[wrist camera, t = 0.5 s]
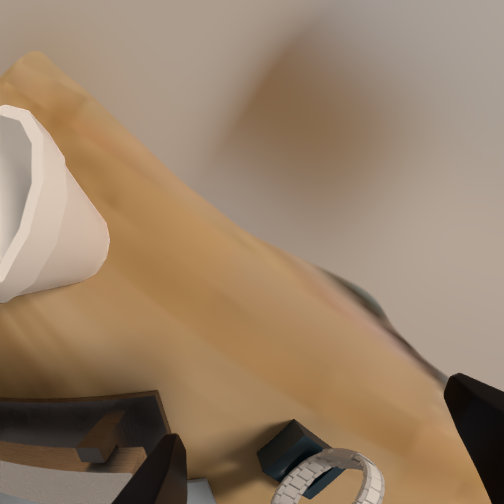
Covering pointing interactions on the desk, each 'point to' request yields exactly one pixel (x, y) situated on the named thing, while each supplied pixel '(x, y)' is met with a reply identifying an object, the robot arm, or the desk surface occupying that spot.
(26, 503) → the mat
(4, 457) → the rail
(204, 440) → the desk surface
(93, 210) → the foam cup
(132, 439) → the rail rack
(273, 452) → the watch
